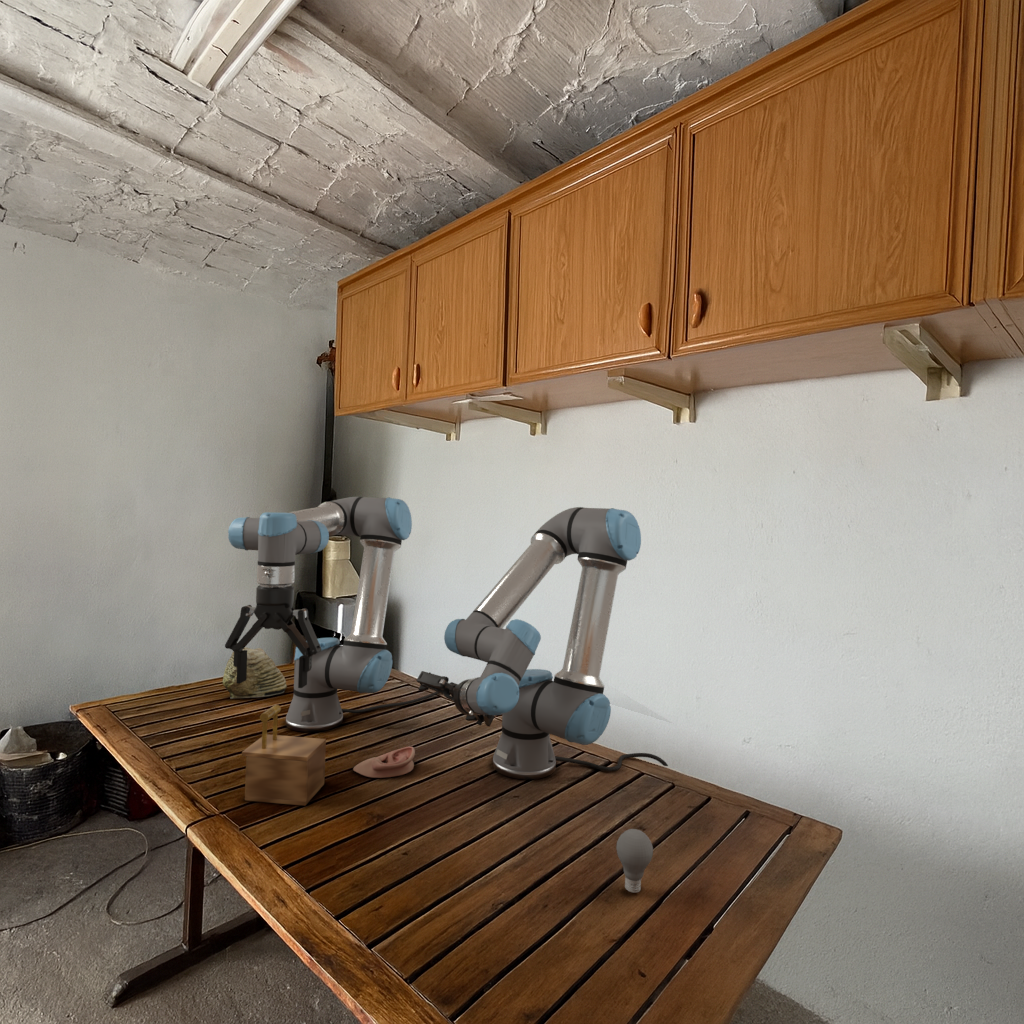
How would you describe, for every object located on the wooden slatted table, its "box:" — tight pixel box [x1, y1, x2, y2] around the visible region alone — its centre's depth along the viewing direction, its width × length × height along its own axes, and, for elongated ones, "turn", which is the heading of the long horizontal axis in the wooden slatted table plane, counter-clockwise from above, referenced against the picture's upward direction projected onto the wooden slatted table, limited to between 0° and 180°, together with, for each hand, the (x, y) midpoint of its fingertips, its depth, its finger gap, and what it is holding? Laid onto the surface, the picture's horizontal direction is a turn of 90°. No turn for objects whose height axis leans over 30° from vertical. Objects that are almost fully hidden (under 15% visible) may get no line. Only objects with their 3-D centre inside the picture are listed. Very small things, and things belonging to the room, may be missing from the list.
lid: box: [241, 704, 327, 761], centre depth 135 cm, size 14×10×8 cm
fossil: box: [222, 646, 288, 699], centre depth 198 cm, size 9×18×15 cm, turn 132°
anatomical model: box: [352, 746, 416, 779], centre depth 149 cm, size 13×4×12 cm
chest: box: [244, 742, 327, 807], centre depth 135 cm, size 13×10×9 cm
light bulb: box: [615, 828, 654, 894], centre depth 106 cm, size 6×6×10 cm
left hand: (271, 684), depth 135 cm, fingers open, 13 cm apart
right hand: (445, 700), depth 151 cm, fingers open, 13 cm apart
